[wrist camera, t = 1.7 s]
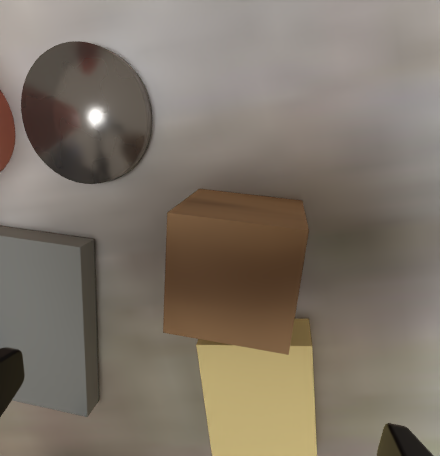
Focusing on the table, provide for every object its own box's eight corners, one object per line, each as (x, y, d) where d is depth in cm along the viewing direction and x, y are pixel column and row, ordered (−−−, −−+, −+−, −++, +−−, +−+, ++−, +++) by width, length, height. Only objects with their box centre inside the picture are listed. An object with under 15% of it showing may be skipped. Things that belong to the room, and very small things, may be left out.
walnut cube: (287, 294, 20) (288, 354, 15) (193, 280, 21) (163, 332, 15) (302, 200, 18) (309, 230, 13) (199, 188, 19) (167, 212, 14)
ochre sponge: (313, 439, 23) (318, 484, 20) (223, 433, 24) (215, 475, 21) (308, 315, 20) (312, 346, 17) (208, 315, 21) (196, 344, 19)
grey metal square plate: (98, 400, 24) (87, 416, 23) (-50, 368, 26) (-69, 382, 25) (94, 239, 21) (80, 247, 19) (-78, 214, 23) (-102, 220, 21)
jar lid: (153, 186, 20) (144, 190, 19) (41, 173, 21) (27, 176, 20) (156, 50, 18) (147, 45, 16) (31, 43, 19) (15, 38, 17)
